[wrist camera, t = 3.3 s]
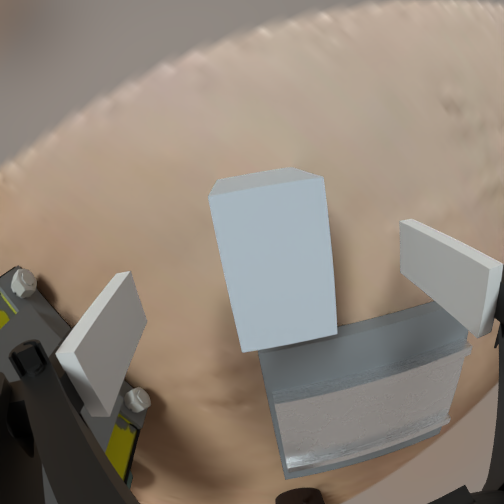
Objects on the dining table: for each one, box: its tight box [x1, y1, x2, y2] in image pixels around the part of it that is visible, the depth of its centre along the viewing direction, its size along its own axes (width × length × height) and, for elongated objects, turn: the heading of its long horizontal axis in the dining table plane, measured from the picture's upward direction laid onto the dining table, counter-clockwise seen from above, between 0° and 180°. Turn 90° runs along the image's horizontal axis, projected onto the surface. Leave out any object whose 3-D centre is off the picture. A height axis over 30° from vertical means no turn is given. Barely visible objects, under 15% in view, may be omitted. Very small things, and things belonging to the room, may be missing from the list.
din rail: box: [273, 337, 472, 473], centre depth 26 cm, size 19×12×2 cm, turn 100°
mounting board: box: [258, 301, 468, 480], centre depth 27 cm, size 20×20×2 cm
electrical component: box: [0, 265, 151, 504], centre depth 15 cm, size 18×10×20 cm, turn 37°
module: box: [208, 167, 337, 353], centre depth 18 cm, size 5×8×8 cm, turn 10°
